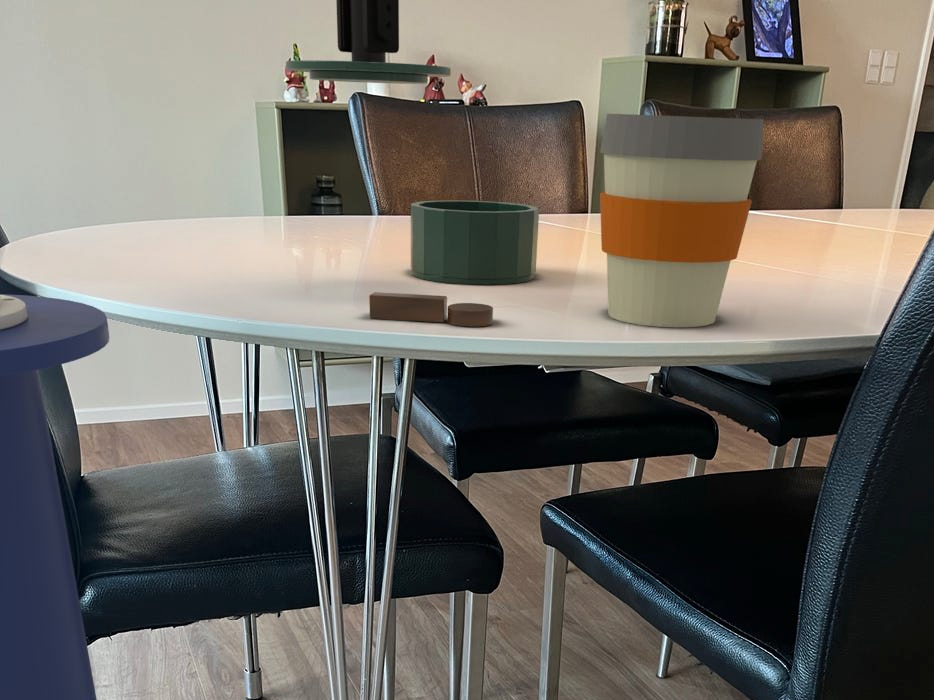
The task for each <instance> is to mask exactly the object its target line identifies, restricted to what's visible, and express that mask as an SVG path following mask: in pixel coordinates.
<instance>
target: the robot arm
mask: <svg viewBox="0 0 934 700" xmlns="http://www.w3.org/2000/svg"><path fill="white" fill-rule="evenodd" d="M335 1H336V3H335V4H336V32H337V36H336V37H337V49H338V50H339V52H341V53H351V14H350V0H335ZM363 37H364V48H365V50H366V51H371V52H384V53H386V54H397V53H398V52H399V49H400V0H363ZM351 54H352V53H351ZM27 317H28V314H27V310H26V305H25V303H24V302H23V301H21V300H20V299H17V298H14V297H10V296H5V295H0V330H4V329H8V328H12V327H14V326H17V325H19V324H21V323H23V322H24V321H26V319H27Z"/></svg>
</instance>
